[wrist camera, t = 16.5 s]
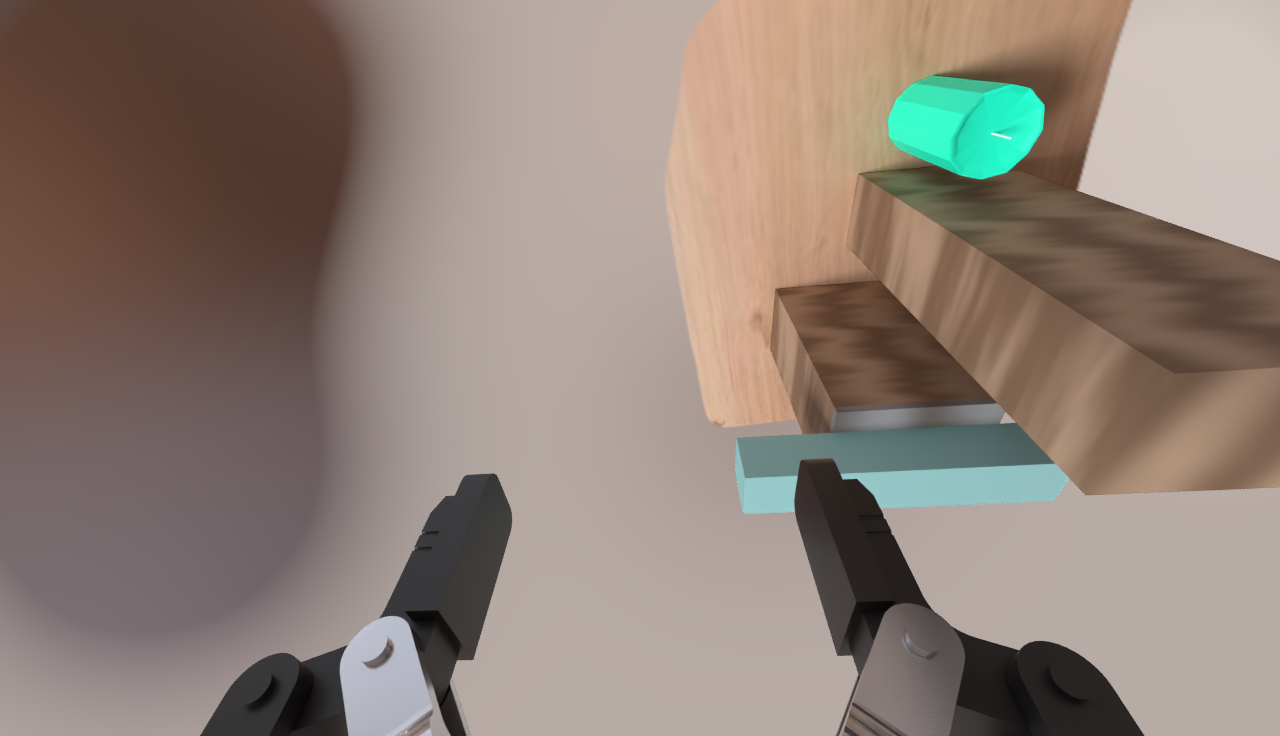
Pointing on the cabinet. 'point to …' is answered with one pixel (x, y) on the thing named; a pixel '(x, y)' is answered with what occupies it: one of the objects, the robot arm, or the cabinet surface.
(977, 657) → the robot arm
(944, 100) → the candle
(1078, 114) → the cabinet surface
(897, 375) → the brown wooden block
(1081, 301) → the stand
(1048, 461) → the batten
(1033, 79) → the cabinet surface
